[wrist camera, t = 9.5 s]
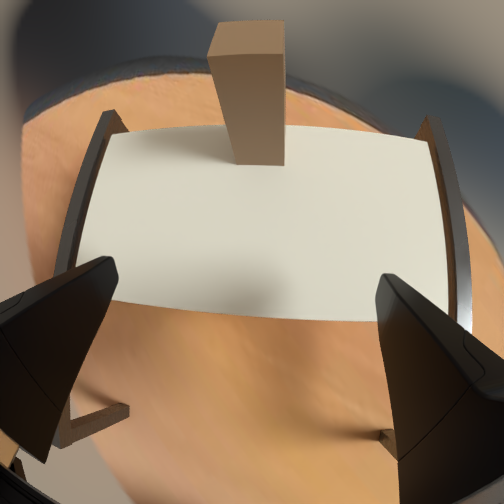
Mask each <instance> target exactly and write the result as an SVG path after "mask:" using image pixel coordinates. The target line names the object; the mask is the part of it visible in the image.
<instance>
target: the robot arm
mask: <svg viewBox="0 0 504 504" xmlns="http://www.w3.org/2000/svg"><path fill="white" fill-rule="evenodd" d="M118 281H119V275H118V271H117V268H116V264H115V261H114V258H113V257H112V256H100V257H98V258H95V259H93V260H91V261H89V262H86V263H84V264H82V265H80V266H77V267H75V268H73V269H71V270H68V271H66V272H64V273H62V274H60V275H57V276H55V277H53V278H51V279H49V280H47V281H45V282H42V283H40V284H38V285H36V286H34V287H32V288H30V289H28V290H26V291H25V292H22V293H20V294H18V295H16V296H13V297H12V298H9V299H7V300H5V301H3V302H1V303H0V504H60V503H59V502H57V501H55V500H53V499H52V498H50V497H49V496H47V495H45V494H44V493H42V492H41V491H39V490H38V489H36V488H35V487H33V486H32V485H30V484H29V483H28V482H27V481H26V477H25V474H24V470H23V466H22V462H21V460H20V459H18V458H17V457H16V454H17V452H18V450H19V448H21V449H22V450H23V451H25V452H26V453H28V454H29V455H31V456H32V457H34V458H35V459H37V460H38V461H40V462H42V463H43V464H45V462H46V460H47V457H48V453H49V450H50V447H51V444H52V441H53V438H54V435H55V433H56V430H57V427H58V424H59V421H60V418H61V416H62V413H63V410H64V407H65V405H66V402H67V400H68V397H69V395H70V392H71V390H72V387H73V385H74V382H75V380H76V378H77V375H78V373H79V371H80V368H81V366H82V364H83V361H84V359H85V357H86V355H87V353H88V350H89V348H90V346H91V344H92V342H93V340H94V338H95V335H96V333H97V331H98V329H99V327H100V325H101V323H102V321H103V319H104V317H105V314H106V312H107V310H108V307H109V304H110V302H111V299H112V297H113V294H114V292H115V289H116V287H117V284H118ZM375 305H376V313H377V323H378V333H379V341H380V347H381V352H382V357H383V362H384V367H385V372H386V378H387V384H388V390H389V396H390V402H391V409H392V416H393V424H394V432H395V441H396V451H397V461H398V478H399V498H400V504H504V359H502V358H501V357H500V356H498V355H497V354H496V353H494V352H493V351H492V350H490V349H489V348H488V347H487V346H485V345H484V344H483V343H482V342H480V341H479V340H478V339H477V338H475V337H474V336H473V335H472V334H471V333H469V332H468V331H467V330H465V329H464V328H463V327H462V326H461V325H460V324H458V323H457V322H456V321H455V320H454V319H452V318H451V317H450V316H449V315H447V314H446V313H445V312H444V311H442V310H441V309H440V308H439V307H437V306H436V305H435V304H433V303H432V302H431V301H430V300H428V299H427V298H426V297H424V296H423V295H422V294H421V293H419V292H418V291H417V290H415V289H414V288H413V287H411V286H410V285H409V284H407V283H406V282H405V281H403V280H402V279H401V278H399V277H398V276H397V275H395V274H393V273H383V274H382V275H381V277H380V280H379V284H378V287H377V291H376V295H375Z"/></svg>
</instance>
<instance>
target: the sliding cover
mask: <svg viewBox="0 0 504 504" xmlns="http://www.w3.org/2000/svg"><path fill="white" fill-rule="evenodd" d="M207 59H208V62H209V66H210V70H211V73H212V77H213V80H214V84H215V88H216V91H217V95H218V99H219V102H220V106H221V109H222V113H223V117H224V120H225V124H226V125H205V126H187V127H173V128H162V129H152V130H143V131H134V132H126V133H119V134H112V136H111V138H110V141H109V144H108V146H107V149H106V152H105V155H104V158H103V161H102V164H101V167H100V170H99V173H98V176H97V180H96V183H95V186H94V190H93V193H92V197H91V200H90V204H89V208H88V212H87V216H86V220H85V224H84V228H83V232H82V237H81V242H80V246H79V251H78V256H77V262H76V267H77V266H80V265H82V264H84V263H86V262H89V261H91V260H93V259H95V258H98V257H100V256H112V257H113V258H114V261H115V264H116V268H117V271H118V275H119V281H118V284H117V287H116V289H115V292H114V294H113V297H112V299H111V300H114V301H120V302H127V303H134V304H141V305H148V306H155V307H163V308H171V309H179V310H188V311H197V312H207V313H217V314H227V315H239V316H251V317H264V318H280V319H297V320H318V321H350V322H377V313H376V305H375V295H376V291H377V287H378V284H379V280H380V277H381V275H382V274H383V273H393V274H395V275H397V276H398V277H399V278H401V279H402V280H403V281H405V282H406V283H407V284H409V285H410V286H411V287H413V288H414V289H415V290H417V291H418V292H419V293H421V294H422V295H423V296H424V297H426V298H427V299H428V300H430V301H431V302H432V303H433V304H435V305H436V306H437V307H439V308H440V309H441V310H442V311H444V312H445V313H446V314H447V315H448V275H447V259H446V247H445V237H444V228H443V220H442V213H441V206H440V200H439V194H438V189H437V183H436V178H435V173H434V168H433V164H432V160H431V155H430V151H429V147H428V143H427V142H425V141H420V140H415V139H410V138H404V137H398V136H392V135H385V134H379V133H371V132H364V131H355V130H346V129H336V128H324V127H311V126H293V125H286V94H285V42H284V20H251V21H232V22H220V23H218V26H217V29H216V31H215V34H214V37H213V40H212V43H211V46H210V49H209V52H208V55H207Z"/></svg>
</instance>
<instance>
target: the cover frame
mask: <svg viewBox="0 0 504 504" xmlns="http://www.w3.org/2000/svg"><path fill="white" fill-rule="evenodd" d="M121 120H122V119H121V118H120V116H119V115H118V114H117V112H116V111H115V109H114V110H109V111H104V112H103V113H102V115H101V117H100V120H99V122H98V124H97V127H96V129H95V131H94V134H93V136H92V139H91V141H90V144H89V147H88V149H87V152H86V155H85V157H84V160H83V163H82V166H81V169H80V172H79V175H78V178H77V181H76V184H75V187H74V190H73V194H72V197H71V201H70V204H69V208H68V211H67V215H66V219H65V223H64V227H63V231H62V235H61V240H60V244H59V249H58V254H57V259H56V265H55V270H54V276H53V277H55V276H57V275H60V274H62V273H64V272H66V271H68V270H71V269H73V268H75V267H76V262H77V256H78V251H79V246H80V242H81V237H82V232H83V228H84V224H85V220H86V216H87V212H88V208H89V204H90V200H91V197H92V193H93V190H94V186H95V183H96V180H97V176H98V173H99V170H100V167H101V164H102V161H103V158H104V155H105V152H106V149H107V146H108V144H109V141H110V138H111V136H112V134H119V133H126V132H129V131H128V129H127V128H126V127H125V125H124V124H123V122H122V121H121ZM414 139H415V140H420V141H425V142H427V143H428V147H429V151H430V155H431V160H432V164H433V168H434V173H435V178H436V183H437V189H438V194H439V200H440V206H441V213H442V220H443V228H444V237H445V247H446V259H447V275H448V315H449V316H450V317H451V318H452V319H454V320H455V321H456V322H457V323H458V324H460V325H461V326H462V327H463V328H464V329H465V330H467V331H468V332H469V333H471V334H472V283H471V267H470V255H469V245H468V237H467V229H466V222H465V216H464V210H463V204H462V199H461V194H460V189H459V185H458V180H457V175H456V171H455V168H454V163H453V159H452V156H451V152H450V148H449V145H448V141H447V138H446V135H445V132H444V129H443V125H442V123H441V119H440V118H439V117H434V116H430V115H426V117H425V119H424V121H423V122H422V124H421V128H420V129H419V131H418V133H417V135H416V136H415V138H414ZM128 417H129V406H127V405H124V404H120V403H118V404H116V405H113V406H110V407H107V408H105V409H102V410H99V411H96V412H94V413H91V414H88V415H85V416H82V417H79V418H76V419H73V420H70V395H69V397H68V400H67V402H66V405H65V407H64V410H63V413H62V416H61V418H60V421H59V424H58V427H57V430H56V433H55V435H54V438H53V441H52V445H54V446H56V447H58V448H59V449H62V448H65V447H67V446H70V445H72V443H73V442H75V441H78V440H80V439H83V438H85V437H87V436H89V435H92V434H94V433H96V432H98V431H101V430H103V429H105V428H107V427H109V426H111V425H113V424H115V423H118V422H120V421H122V420H124V419H126V418H128ZM379 442H380V443H381V444H382V445H383V446H384V447H385V448H386V449H387V450H388V451H389V452H390V454H391V455H392V456H393V457H394V458H395V459H396V460H397V451H396V441H395V432H394V430H393V429H388V430H381V434H380V439H379Z"/></svg>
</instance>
